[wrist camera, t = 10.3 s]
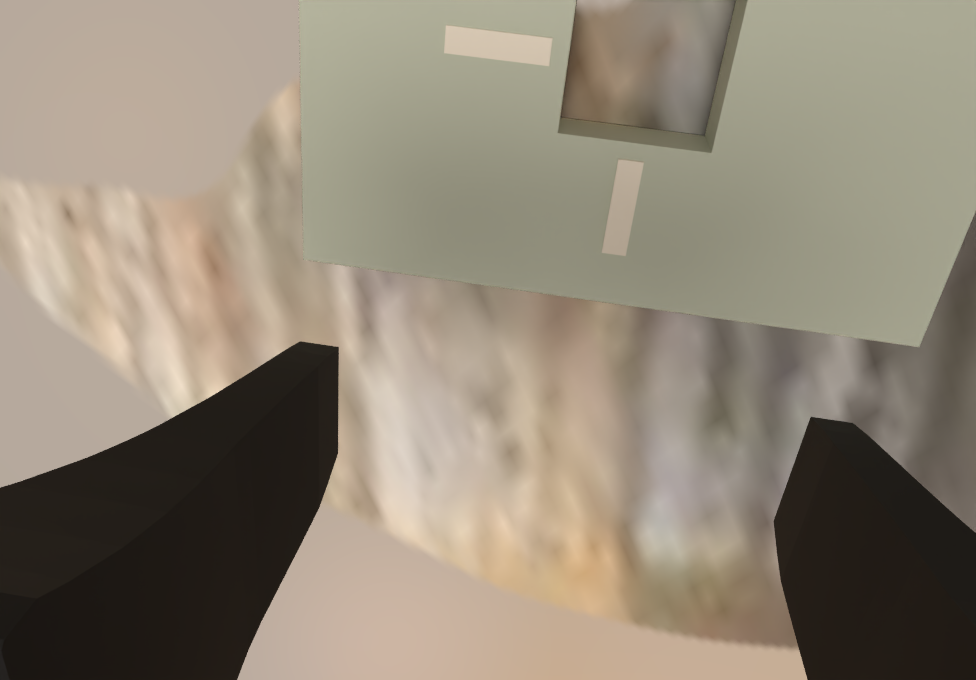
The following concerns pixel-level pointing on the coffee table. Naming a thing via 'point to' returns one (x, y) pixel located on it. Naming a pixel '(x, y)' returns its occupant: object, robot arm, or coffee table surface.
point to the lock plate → (650, 161)
